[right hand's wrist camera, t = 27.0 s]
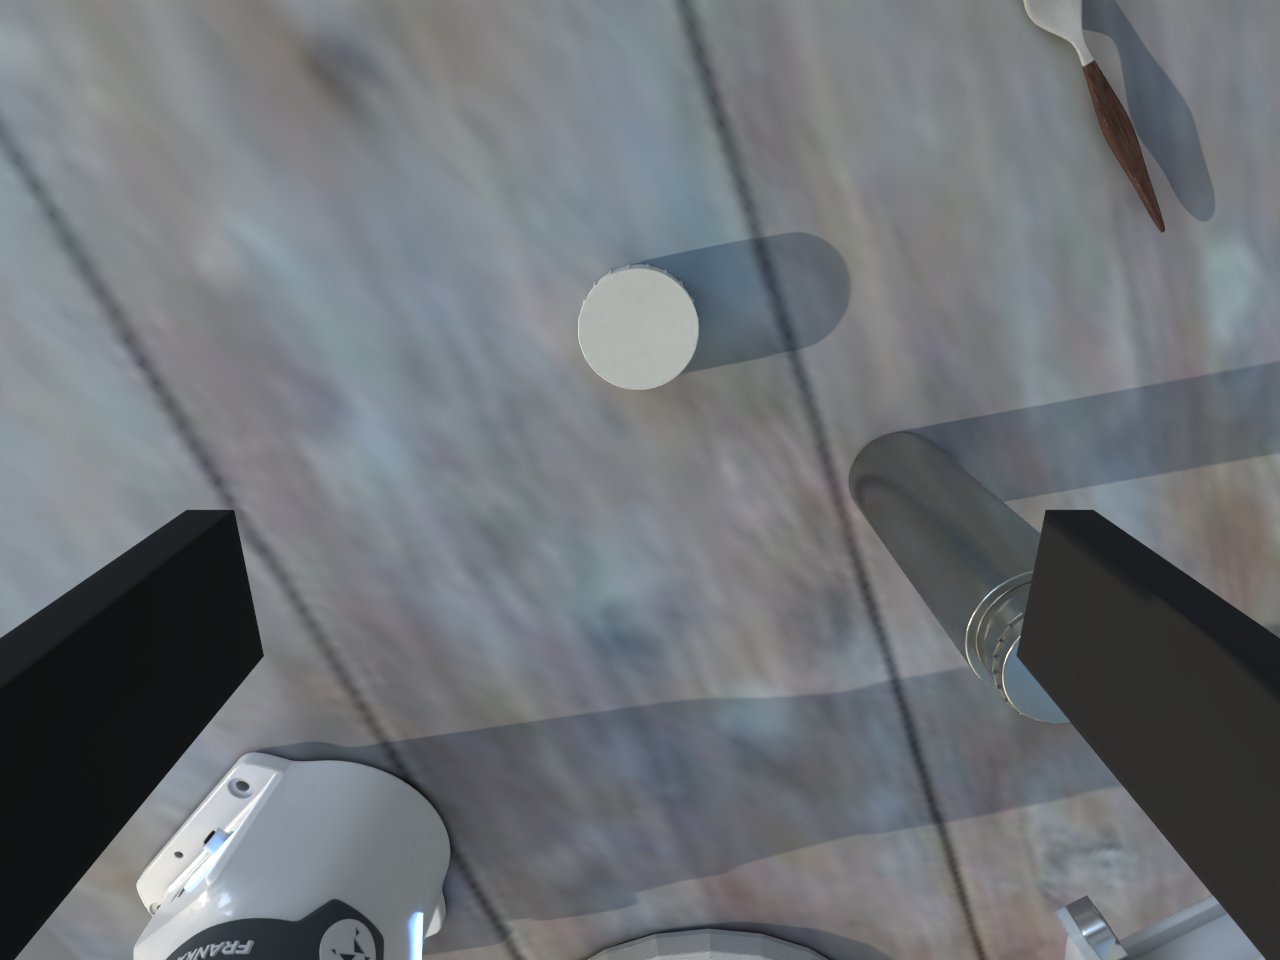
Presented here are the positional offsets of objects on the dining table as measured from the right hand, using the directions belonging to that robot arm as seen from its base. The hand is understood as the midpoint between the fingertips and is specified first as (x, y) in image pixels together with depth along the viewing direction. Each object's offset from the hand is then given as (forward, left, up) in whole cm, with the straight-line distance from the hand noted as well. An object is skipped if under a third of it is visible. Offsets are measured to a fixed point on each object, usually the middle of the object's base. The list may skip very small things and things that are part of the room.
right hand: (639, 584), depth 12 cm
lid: (0, 0, -27) cm, 27 cm away
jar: (-3, +17, -29) cm, 34 cm away
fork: (-22, +9, -29) cm, 38 cm away
